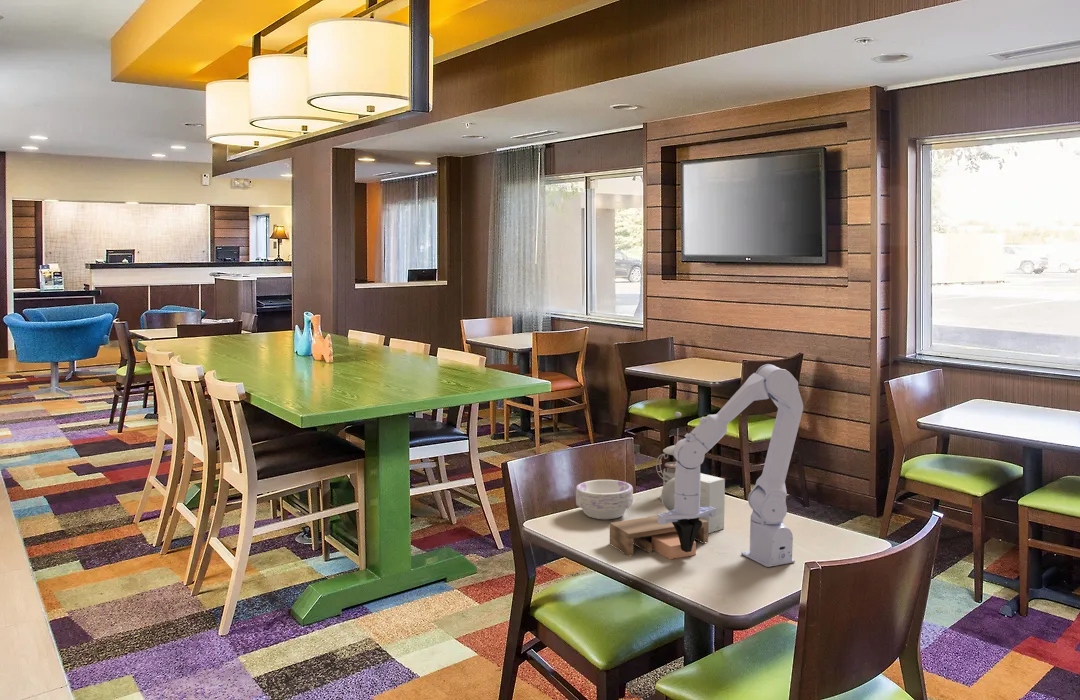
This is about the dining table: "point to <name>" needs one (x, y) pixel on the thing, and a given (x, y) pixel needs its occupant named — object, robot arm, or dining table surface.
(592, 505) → the paper bowls
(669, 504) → the donut
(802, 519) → the dining table surface
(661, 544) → the cover
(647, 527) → the wooden stand
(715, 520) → the small box
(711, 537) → the dining table surface
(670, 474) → the french press
